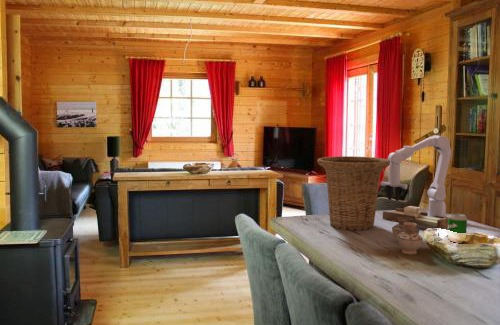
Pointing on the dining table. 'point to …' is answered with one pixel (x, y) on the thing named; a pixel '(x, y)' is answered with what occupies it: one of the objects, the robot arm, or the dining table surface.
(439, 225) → the brown tray with rims
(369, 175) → the wicker basket
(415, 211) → the cream block
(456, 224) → the soda can
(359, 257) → the dining table surface
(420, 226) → the grey flat board
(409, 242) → the pottery
